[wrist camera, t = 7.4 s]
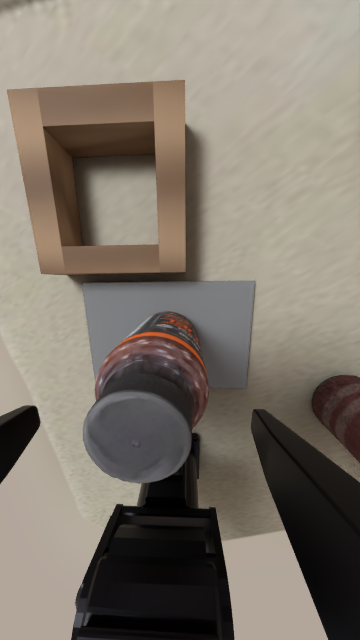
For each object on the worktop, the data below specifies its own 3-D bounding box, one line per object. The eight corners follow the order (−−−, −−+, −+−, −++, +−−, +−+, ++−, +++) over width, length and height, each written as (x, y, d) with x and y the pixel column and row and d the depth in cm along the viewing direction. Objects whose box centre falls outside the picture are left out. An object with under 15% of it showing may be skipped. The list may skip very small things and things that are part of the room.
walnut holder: (185, 273, 16) (185, 271, 13) (66, 275, 17) (41, 273, 14) (185, 122, 14) (184, 79, 11) (43, 129, 14) (6, 89, 11)
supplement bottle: (210, 329, 17) (258, 423, 6) (178, 376, 18) (168, 528, 7) (156, 297, 16) (95, 333, 5) (128, 348, 17) (29, 464, 6)
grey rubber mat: (244, 385, 19) (246, 388, 18) (98, 383, 19) (96, 386, 19) (252, 280, 16) (255, 280, 16) (85, 282, 17) (81, 282, 16)
